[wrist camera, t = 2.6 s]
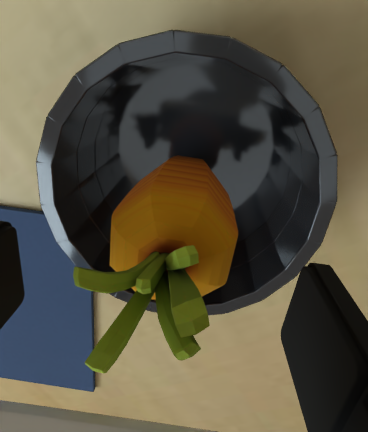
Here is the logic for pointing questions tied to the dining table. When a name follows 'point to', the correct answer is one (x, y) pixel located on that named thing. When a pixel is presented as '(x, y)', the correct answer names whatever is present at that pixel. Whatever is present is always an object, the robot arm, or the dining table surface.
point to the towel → (47, 312)
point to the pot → (192, 153)
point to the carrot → (166, 256)
